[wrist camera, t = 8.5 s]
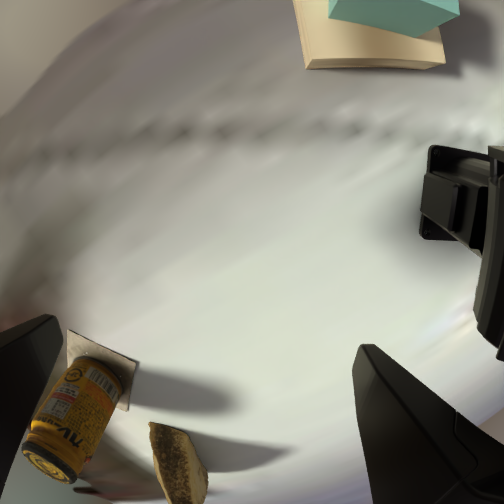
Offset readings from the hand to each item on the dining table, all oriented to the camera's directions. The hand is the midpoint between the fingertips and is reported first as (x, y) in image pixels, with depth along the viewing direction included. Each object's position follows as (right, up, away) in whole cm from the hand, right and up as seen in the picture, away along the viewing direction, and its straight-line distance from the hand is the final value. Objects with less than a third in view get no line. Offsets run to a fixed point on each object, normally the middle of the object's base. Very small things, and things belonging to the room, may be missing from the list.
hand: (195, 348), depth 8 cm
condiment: (-14, -9, +19) cm, 25 cm away
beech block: (+8, +18, +7) cm, 21 cm away
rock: (-7, -21, +23) cm, 32 cm away
